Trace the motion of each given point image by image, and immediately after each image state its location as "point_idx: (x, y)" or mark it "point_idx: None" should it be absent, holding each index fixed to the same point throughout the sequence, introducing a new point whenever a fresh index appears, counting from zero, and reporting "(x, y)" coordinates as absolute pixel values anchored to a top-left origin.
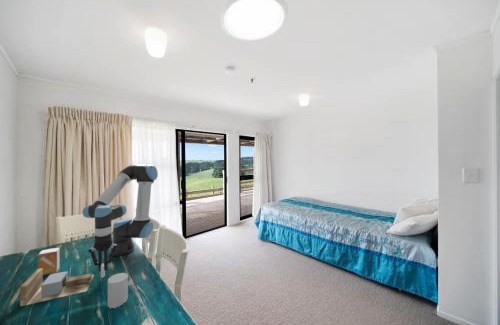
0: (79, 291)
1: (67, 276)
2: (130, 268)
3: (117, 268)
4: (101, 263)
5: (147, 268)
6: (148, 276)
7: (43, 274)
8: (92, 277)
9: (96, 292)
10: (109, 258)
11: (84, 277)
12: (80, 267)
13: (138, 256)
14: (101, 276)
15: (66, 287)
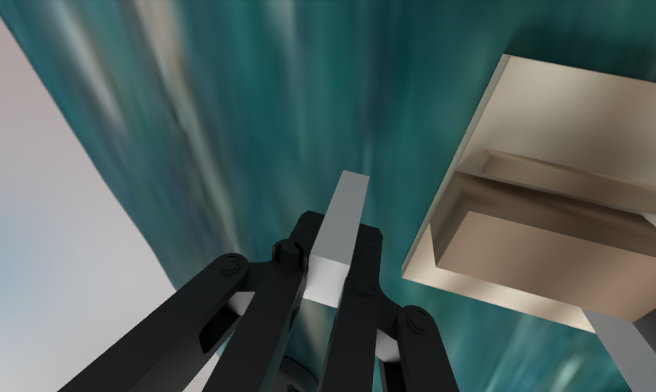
0: (568, 97)
1: (608, 343)
2: (206, 219)
3: None
4: (338, 306)
5: (101, 152)
6: (43, 20)
7: None
8: (417, 252)
9: (424, 10)
10: (188, 322)
11: (514, 235)
12: None
13: None
14: (362, 180)
15: (646, 224)
